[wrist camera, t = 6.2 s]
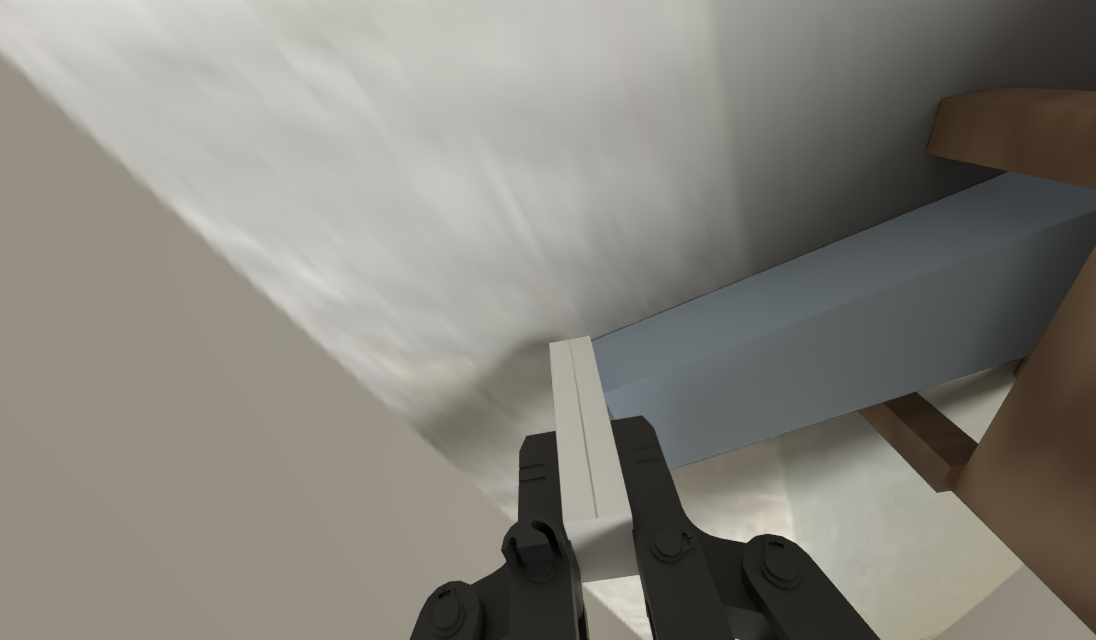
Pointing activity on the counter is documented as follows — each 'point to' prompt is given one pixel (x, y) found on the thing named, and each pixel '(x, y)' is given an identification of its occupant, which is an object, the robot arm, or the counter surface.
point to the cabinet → (1024, 364)
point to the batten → (855, 319)
